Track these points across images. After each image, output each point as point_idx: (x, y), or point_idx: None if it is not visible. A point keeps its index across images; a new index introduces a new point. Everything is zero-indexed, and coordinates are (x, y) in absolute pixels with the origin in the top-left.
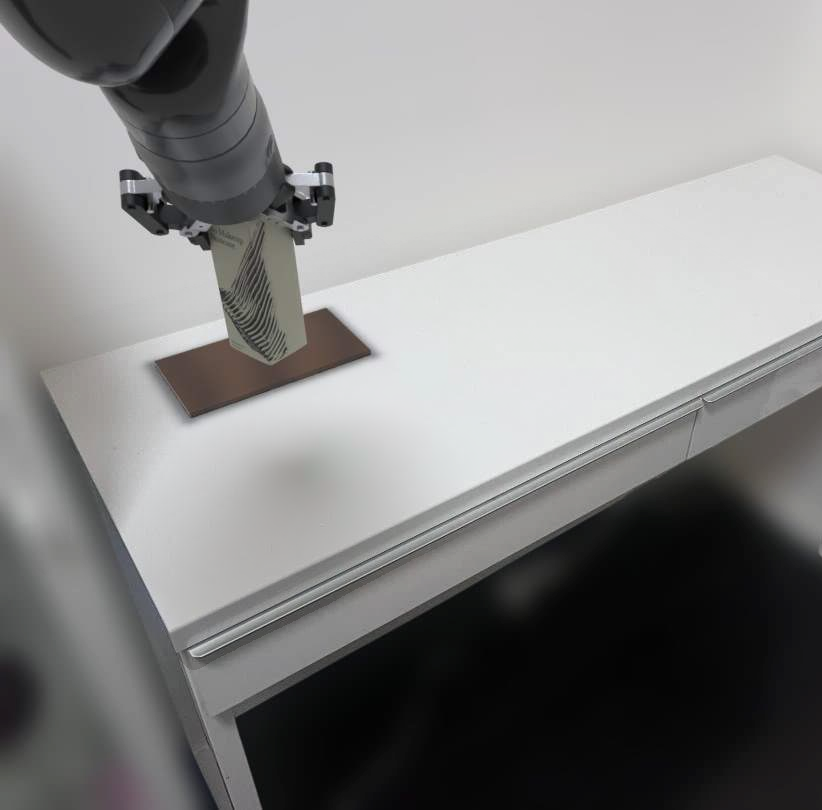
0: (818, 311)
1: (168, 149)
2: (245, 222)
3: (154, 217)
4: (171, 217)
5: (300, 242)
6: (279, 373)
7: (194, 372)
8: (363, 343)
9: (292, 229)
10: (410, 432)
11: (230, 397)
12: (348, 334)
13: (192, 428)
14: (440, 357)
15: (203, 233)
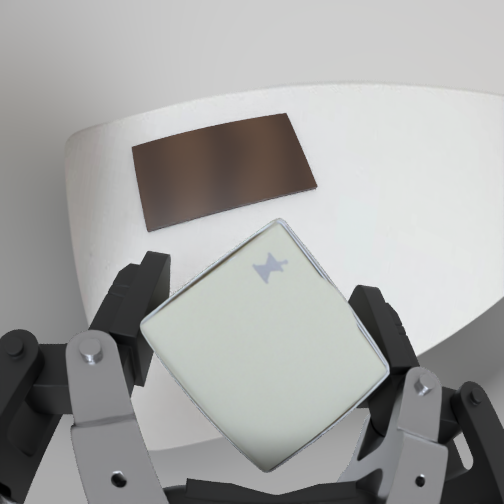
0: None
1: None
2: (264, 471)
3: (29, 482)
4: (61, 406)
5: None
6: (231, 195)
7: (159, 171)
8: (312, 175)
9: (363, 425)
10: None
11: (183, 218)
12: (301, 156)
13: (148, 247)
14: (371, 214)
15: (145, 372)
